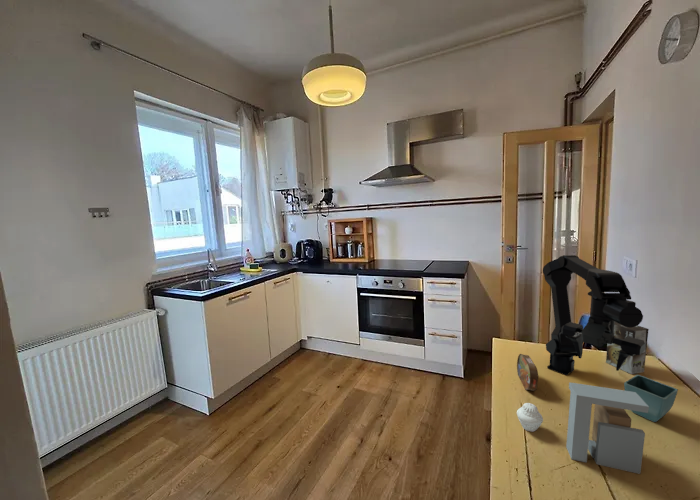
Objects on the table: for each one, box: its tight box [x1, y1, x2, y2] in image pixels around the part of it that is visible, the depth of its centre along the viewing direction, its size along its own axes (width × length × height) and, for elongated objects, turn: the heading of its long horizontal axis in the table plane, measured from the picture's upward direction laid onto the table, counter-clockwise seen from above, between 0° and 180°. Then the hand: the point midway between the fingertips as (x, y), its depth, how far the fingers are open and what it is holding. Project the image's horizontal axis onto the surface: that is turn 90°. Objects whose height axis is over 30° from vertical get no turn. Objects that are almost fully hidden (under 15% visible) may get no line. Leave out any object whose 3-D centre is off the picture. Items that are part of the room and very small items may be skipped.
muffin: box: [516, 402, 544, 433], centre depth 83 cm, size 6×6×7 cm
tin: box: [516, 353, 539, 392], centre depth 104 cm, size 15×3×8 cm, turn 164°
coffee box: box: [605, 322, 650, 375], centre depth 112 cm, size 9×6×16 cm
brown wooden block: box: [591, 404, 632, 442], centre depth 74 cm, size 8×4×12 cm, turn 159°
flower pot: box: [623, 374, 679, 423], centre depth 87 cm, size 9×9×9 cm
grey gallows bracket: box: [565, 382, 649, 475], centre depth 72 cm, size 6×13×16 cm, turn 69°
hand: (598, 363), depth 92 cm, fingers open, 9 cm apart
